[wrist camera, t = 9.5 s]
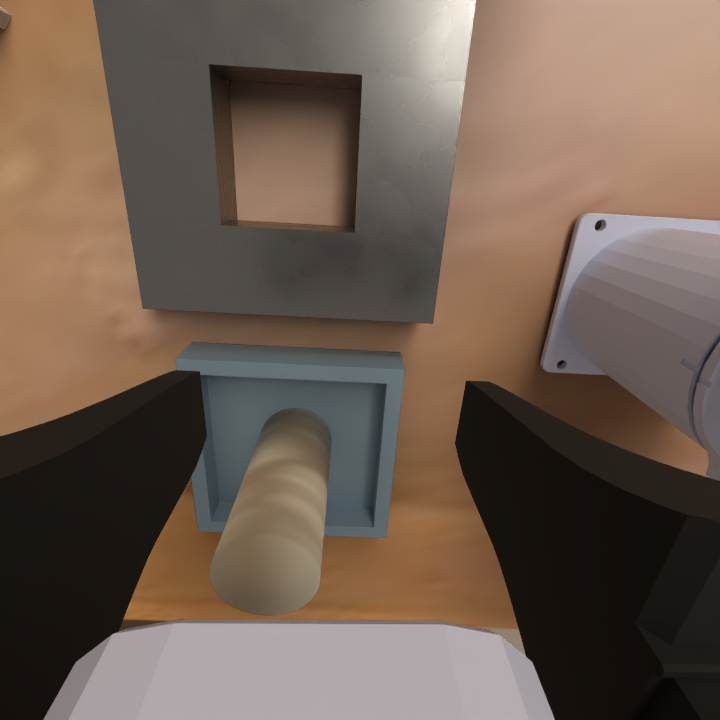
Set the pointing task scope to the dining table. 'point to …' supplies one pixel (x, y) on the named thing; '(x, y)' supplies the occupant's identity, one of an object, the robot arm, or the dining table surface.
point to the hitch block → (216, 161)
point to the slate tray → (305, 391)
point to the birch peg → (277, 519)
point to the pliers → (4, 18)
